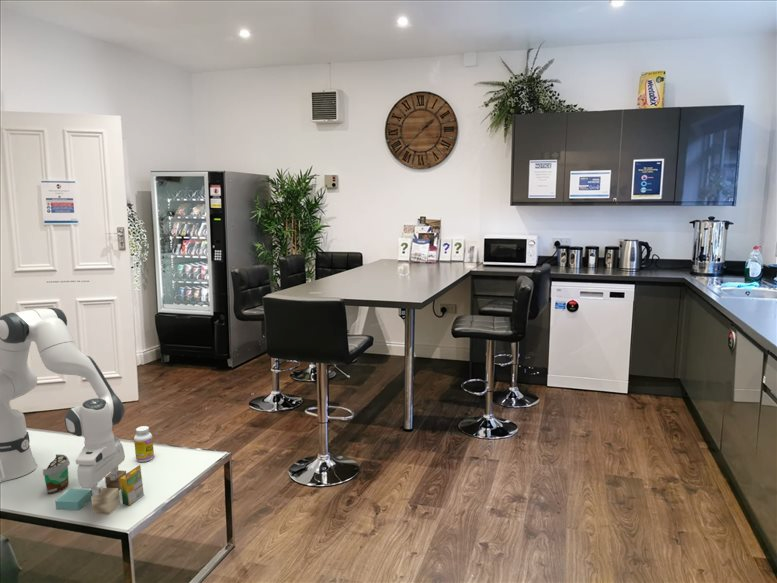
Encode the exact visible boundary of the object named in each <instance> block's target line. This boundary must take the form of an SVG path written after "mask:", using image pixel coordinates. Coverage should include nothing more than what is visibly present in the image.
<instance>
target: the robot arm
mask: <svg viewBox="0 0 777 583" xmlns="http://www.w3.org/2000/svg"><path fill="white" fill-rule="evenodd" d="M32 342H35V345H36V347H37V352H38V353H39V354H38V355H39V357H40V359H41V361H42V362H41V363H42V364H43V365H44V367H45V369H47V370H48V371H50V372H52V373H55V374H58V375H66V376H77V377H81V378H84V379H85V380H87V381H88V383H89V384H90V387H91V388H92V389H93V392H95V394H96V396H97V397H98V398H91V399H87V400H85V401H84V402H82V404H81V405H76V406H74V407H71V408H70V409H69V410H68V411H66V414H65V417H64V424H65V425H64V426H65V429H66V431H67V433H69V434H71V435H73V436H76V437H83V438H84V442H83V443H84V446H83V448H82V449H81V451H80V452H79V454H78V456H76V458H75V464H76V465H78V466H77V470H76V471H77V472H76V473H77V480H78V485H79V487H80V488H81V489H90V490H92V493H93V495H98V494H99V493H100V492H101V491H100V489H101V487H98V486H99V483H100V482H101V481H102V480H103V479H105V477H106V476H107V475H108V474H109V473H110V472H111V475H110V480H113V481H114V480H115V479H117V472H118V470H119V468H120V467H119V465H121V464H122V463H123V462H124V461H125V458H126V456H125V450H124V446H123V444H122V442H121V439H120V438H119V437H118V436H115V434H114V432H113V426H115V425H119V423H120V422H121V421H122V420H123V418H124V416H125V413H126V410H125V405H124V404H123V402H122V400H121V398H119V396H117V394H116V393H115V391H114V390H113V388H112V387H111V385H110V383H109V382H108V381H107V379H106V377H105V375H104V374H103V372H102V371H101V368H100V367H99V366H98V365H97V362H96V361H94V359H93V358H92V357H91V356H89V355H86V354H84V353H83V352H82V351H81V350H80V349H79V347H77V345H76V342H75V340H74V337H73V336H72V333H71V331H70V329H69V328H68V319H67V316H66V314H65V313H64V311H63V310H62V309H60V308H55V307H47V308H31V309H25V310H21V311H17V312H9V313H6V314H3V315H1V316H0V483H3V482H5V481H9V480H10V481H11V480H13V479H17V478H21V477H24V476H27V475H28V474H30V473H31V472H33V471H35V469H37V467H38V464H37V462H36V459H35V457H34V455H33V452H32V448H31V446H30V434H29V432H28V431H27V424H26V417H25V414H24V413H23V412H22V411H21V410H19V409H15V408H12V407H11V404H10V402H11V401H12V400H15V399H18V398H21V397H22V396H25V395H26V394H28V393H29V392H31V391H32V390H33V389H36V388H37V387H36V386H37V384H38V376H37V374H36V372H35V371H34V370H33V369H32V368H31V367H29V366H28V358H29V352H30V348H31V345H32Z"/></svg>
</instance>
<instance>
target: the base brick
mask: <svg viewBox="0 0 777 583" xmlns="http://www.w3.org/2000/svg"><path fill="white" fill-rule="evenodd" d="M92 496H93V490H92V489H88V488H69V490H67V491H65V493H64V494H62V495H61V496H60V497H59V498H57V499H56V500H55V501H54V502H55V509H56V510H61V509H63V510H64V511H65V510H66V511H80V509H82V508H83V507H84V506H86V504H89V502H90V501H92V500H91V497H92ZM63 510H62V511H63Z"/></svg>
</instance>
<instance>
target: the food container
mask: <svg viewBox="0 0 777 583" xmlns="http://www.w3.org/2000/svg"><path fill="white" fill-rule="evenodd" d="M70 463H71V462H70V460H69V458H68V456H66V455H64V454H55V458H54V459H53V460H52V461H51V462H50V463H49V464H48V465H47V467H46V468H43V469H42V476H44V483H45V487H46V491H47V495H52V494H56V493H60V492H61V491H63V490H65V489H66V488H68V487H69V466H70Z"/></svg>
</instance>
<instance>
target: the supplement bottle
mask: <svg viewBox="0 0 777 583" xmlns="http://www.w3.org/2000/svg"><path fill="white" fill-rule="evenodd" d="M135 432H136V434H135V435H134V437H133V442H134V444H133V445H134V452H135V459H136V461H137V462H139V463H147V462H150V461H151V460H153V459H154V458H155V453H154V442H153V434H152V433H151V432H150V428H149V426H147V425H144V426H142V425H141V426H138V427H137V428H135Z"/></svg>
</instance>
